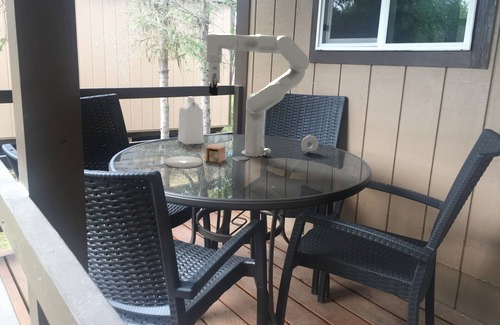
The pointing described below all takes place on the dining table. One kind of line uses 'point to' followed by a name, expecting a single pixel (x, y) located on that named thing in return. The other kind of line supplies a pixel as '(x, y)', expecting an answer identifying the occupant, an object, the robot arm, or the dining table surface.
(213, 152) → the block
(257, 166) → the dining table surface
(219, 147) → the cover
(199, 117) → the milk
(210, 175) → the dining table surface
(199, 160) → the plate
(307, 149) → the donut
